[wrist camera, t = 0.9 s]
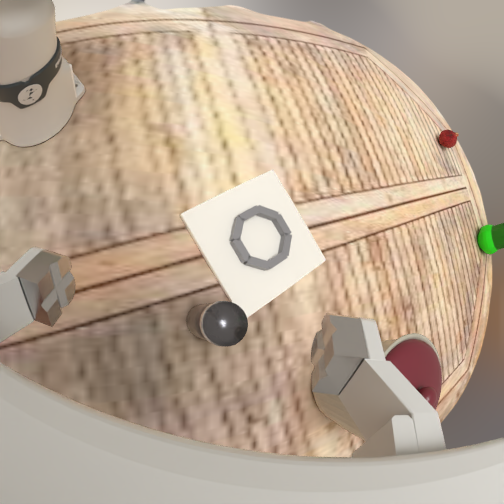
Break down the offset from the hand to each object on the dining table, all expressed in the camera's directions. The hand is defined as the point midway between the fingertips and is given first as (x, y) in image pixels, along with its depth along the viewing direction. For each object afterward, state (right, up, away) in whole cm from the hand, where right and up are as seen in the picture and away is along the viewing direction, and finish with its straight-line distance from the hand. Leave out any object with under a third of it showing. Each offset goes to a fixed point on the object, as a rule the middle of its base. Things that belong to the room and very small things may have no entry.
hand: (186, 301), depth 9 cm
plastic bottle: (+78, +5, +72) cm, 106 cm away
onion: (+62, +36, +72) cm, 102 cm away
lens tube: (-5, -8, +35) cm, 36 cm away
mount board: (+3, +3, +40) cm, 40 cm away
